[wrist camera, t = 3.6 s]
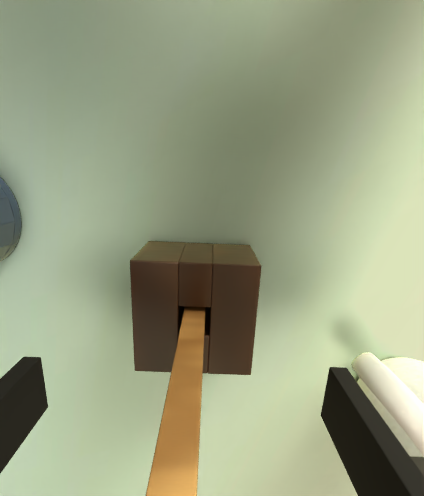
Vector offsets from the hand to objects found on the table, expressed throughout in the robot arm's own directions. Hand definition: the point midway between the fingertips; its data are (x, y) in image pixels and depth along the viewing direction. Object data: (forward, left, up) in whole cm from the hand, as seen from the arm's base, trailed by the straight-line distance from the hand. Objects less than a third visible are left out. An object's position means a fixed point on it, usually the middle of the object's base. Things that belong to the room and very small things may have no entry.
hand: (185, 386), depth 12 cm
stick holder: (0, 0, -10) cm, 10 cm away
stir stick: (0, 0, -10) cm, 10 cm away
